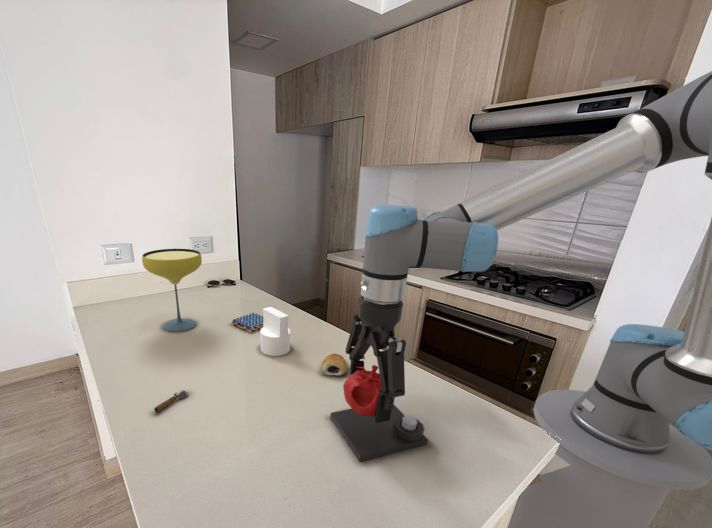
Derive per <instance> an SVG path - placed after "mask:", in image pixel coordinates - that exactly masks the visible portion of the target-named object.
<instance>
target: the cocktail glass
mask: <svg viewBox="0 0 712 528" xmlns="http://www.w3.org/2000/svg"><path fill="white" fill-rule="evenodd" d="M141 255H142V256H141V263H142V266H143V268H144V269H145V270H146V271H147V272H149V273H151V274H153V275H154V276H155V275H156V276H158V277H161V278H163V279H166V280H168V282H170V284H172V285H173V286H174V293H175V303H176V319H172V320H168V321H167V322H165V323H164V324H163V325H162V326H163V329H164V331H167V332H172V333H179V332H186V331H190V330H192V329H194V328H195V327H196V325H197V322H196V321H195V320H194V319H191V318H182V317H181V312H180V306H179V304H180V303H179V296H178V295H179V294H178V287H177V285H179V284H180V282H181V280H183V278H185V277H187V276H189V275H190V274H193V273H194V272H195V271H197V270H198V269H199V268H200V267H201V265H202V263H203V260H202V254H201V252H200V251H198V250H195V249H191V248H164V249H163V248H162V249H156V250H150V251H147V252H145V253H143V254H141Z"/></svg>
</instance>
